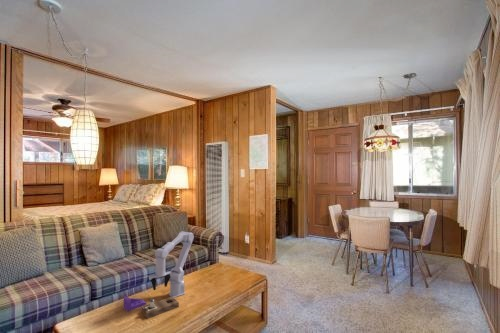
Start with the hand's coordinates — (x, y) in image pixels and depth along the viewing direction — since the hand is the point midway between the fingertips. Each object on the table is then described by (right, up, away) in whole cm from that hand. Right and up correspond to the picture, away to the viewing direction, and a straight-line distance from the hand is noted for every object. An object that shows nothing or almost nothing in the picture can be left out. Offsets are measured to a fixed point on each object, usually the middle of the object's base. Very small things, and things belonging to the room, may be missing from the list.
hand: (160, 288), depth 172 cm
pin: (-2, -10, -11) cm, 15 cm away
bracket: (-15, -11, -3) cm, 19 cm away
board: (+3, -10, -7) cm, 13 cm away
